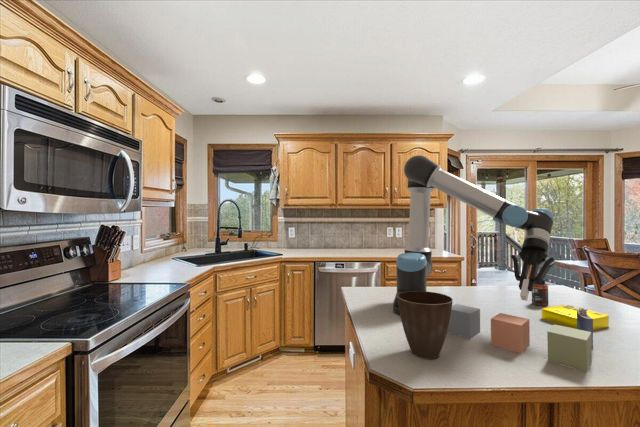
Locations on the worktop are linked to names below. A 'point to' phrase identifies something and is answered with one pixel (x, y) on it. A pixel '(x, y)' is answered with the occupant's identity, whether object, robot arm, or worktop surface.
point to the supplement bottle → (540, 294)
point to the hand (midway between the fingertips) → (523, 297)
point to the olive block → (570, 347)
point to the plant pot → (425, 321)
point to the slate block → (464, 321)
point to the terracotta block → (510, 332)
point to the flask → (585, 322)
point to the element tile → (573, 316)
